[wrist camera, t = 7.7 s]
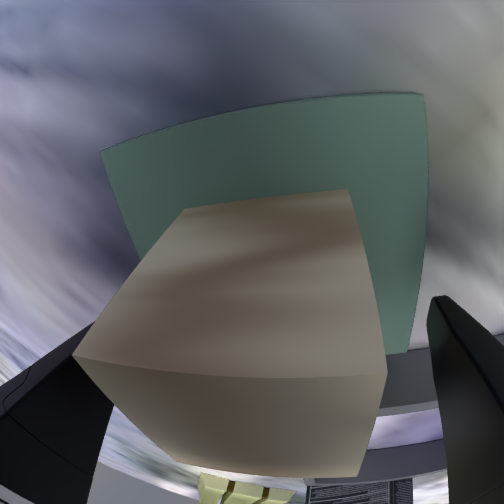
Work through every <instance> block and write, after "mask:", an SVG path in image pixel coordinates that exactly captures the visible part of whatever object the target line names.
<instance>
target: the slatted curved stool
mask: <svg viewBox="0 0 504 504" xmlns="http://www.w3.org/2000/svg"><path fill="white" fill-rule="evenodd" d="M197 487H198V491H199V498H200V501H199V504H217V503H218V501H219V499H220V498H221V497H222V495H223V497H222V499H221V502H220V504H284V503H287V502H289V500H290V499H291V497H292V496H293V495H294V494H295V493H296V492H297V491H292V490H284V489H277V488H269V489H267V488H264V486H259V485H253V484H248V483H243V482H239V481H236V482H231V481H229V479H225V478H221V477H217V476H213V475H210V474H206V473H202V472H201V475H200V478H199V481H198V484H197Z"/></svg>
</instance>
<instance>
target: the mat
mask: <svg viewBox="0 0 504 504" xmlns="http://www.w3.org/2000/svg"><path fill="white" fill-rule="evenodd" d="M99 153H100V156H101V159H102V162H103V165H104V168H105V171H106V174H107V177H108V180H109V183H110V185H111V188H112V191H113V194H114V196H115V199H116V202H117V204H118V207H119V209H120V212H121V215H122V217H123V220H124V222H125V225H126V227H127V230H128V232H129V235H130V237H131V239H132V242H133V244H134V246H135V249H136V251H137V253H138V256H139V258H140V260H142V259H143V258H144V257H145V255H146V254H147V253H148V252H149V250H150V249H151V248H152V247H153V246H154V244H155V243H156V242H157V241H158V240H159V238H160V237H161V236H162V235H163V234H164V232H165V231H166V230H167V229H168V228H169V226H170V225H171V224H172V223H173V222H174V221H175V219H176V218H177V217H178V216H179V215H180V214H181V212H182V211H183V210H184V209H186V208H192V207H199V206H205V205H212V204H219V203H226V202H234V201H241V200H249V199H257V198H265V197H273V196H282V195H291V194H300V193H310V192H320V191H330V190H341V189H348V191H349V194H350V197H351V201H352V204H353V208H354V211H355V215H356V218H357V222H358V226H359V229H360V233H361V237H362V241H363V245H364V249H365V253H366V257H367V261H368V266H369V270H370V274H371V279H372V284H373V288H374V293H375V298H376V303H377V308H378V314H379V319H380V325H381V331H382V337H383V343H384V349H385V355H389V354H398V353H406V352H407V349H408V345H409V340H410V336H411V331H412V326H413V321H414V316H415V311H416V305H417V300H418V294H419V287H420V280H421V273H422V265H423V257H424V247H425V236H426V223H427V204H428V144H427V125H426V113H425V102H424V95H423V94H418V93H413V92H400V93H368V94H352V95H339V96H329V97H319V98H311V99H303V100H295V101H288V102H281V103H275V104H269V105H263V106H258V107H252V108H247V109H242V110H237V111H232V112H228V113H223V114H219V115H214V116H210V117H206V118H202V119H198V120H194V121H190V122H186V123H183V124H179V125H175V126H172V127H168V128H165V129H162V130H158V131H155V132H152V133H148V134H145V135H142V136H139V137H136V138H133V139H130V140H127V141H124V142H121V143H119V144H116V145H113V146H111V147H109V148H107V149H105V150H103V151H101V152H99Z"/></svg>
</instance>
